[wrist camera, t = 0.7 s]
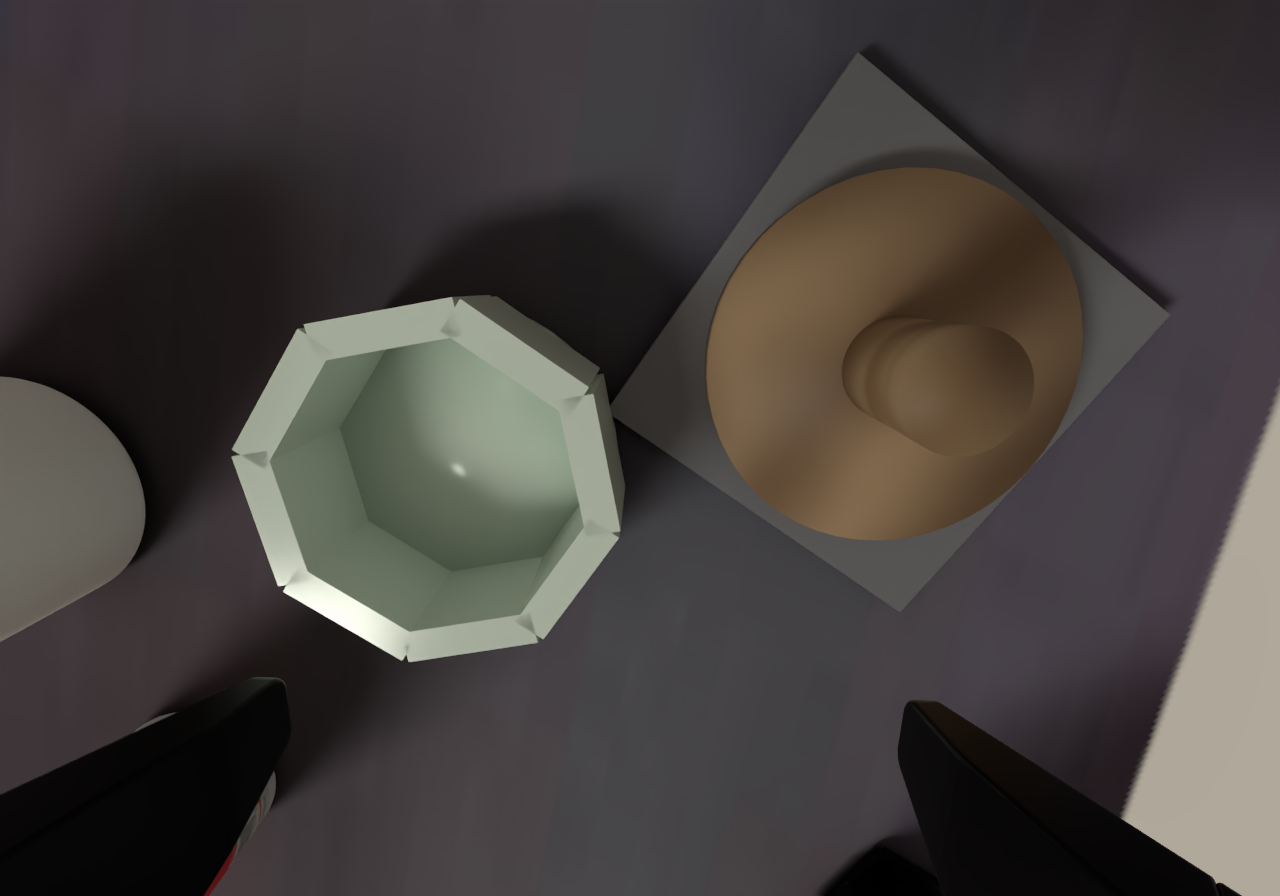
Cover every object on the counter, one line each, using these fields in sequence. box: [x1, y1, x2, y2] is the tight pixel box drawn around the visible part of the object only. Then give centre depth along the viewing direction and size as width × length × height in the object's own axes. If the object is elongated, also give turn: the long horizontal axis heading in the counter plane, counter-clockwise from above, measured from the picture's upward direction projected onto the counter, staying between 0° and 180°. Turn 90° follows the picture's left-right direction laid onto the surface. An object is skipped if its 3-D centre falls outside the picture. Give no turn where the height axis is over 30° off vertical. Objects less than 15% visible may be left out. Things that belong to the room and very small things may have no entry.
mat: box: [610, 53, 1170, 612], centre depth 20 cm, size 13×13×1 cm
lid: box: [704, 167, 1083, 540], centre depth 17 cm, size 12×12×6 cm
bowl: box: [232, 295, 625, 662], centre depth 19 cm, size 10×10×5 cm
